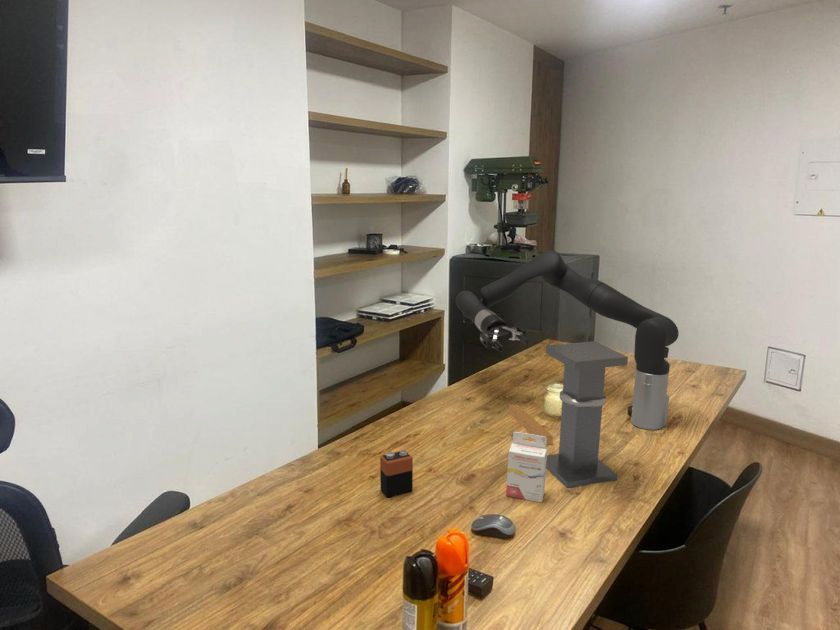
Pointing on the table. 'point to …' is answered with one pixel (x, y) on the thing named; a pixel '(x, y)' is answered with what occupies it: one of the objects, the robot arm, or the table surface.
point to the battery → (396, 473)
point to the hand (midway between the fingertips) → (514, 346)
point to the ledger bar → (529, 423)
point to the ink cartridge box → (527, 467)
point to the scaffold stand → (582, 412)
